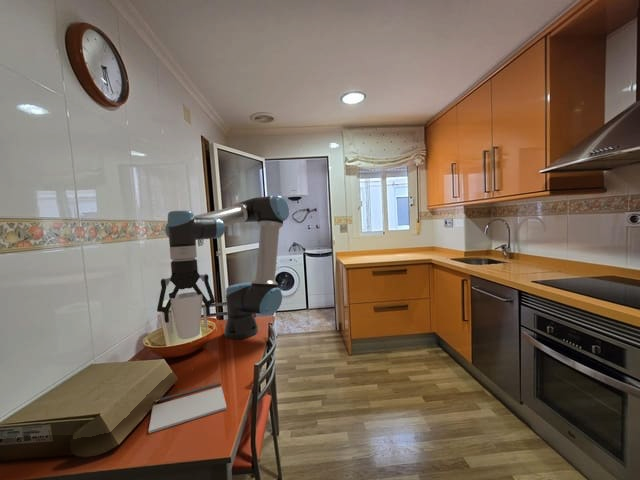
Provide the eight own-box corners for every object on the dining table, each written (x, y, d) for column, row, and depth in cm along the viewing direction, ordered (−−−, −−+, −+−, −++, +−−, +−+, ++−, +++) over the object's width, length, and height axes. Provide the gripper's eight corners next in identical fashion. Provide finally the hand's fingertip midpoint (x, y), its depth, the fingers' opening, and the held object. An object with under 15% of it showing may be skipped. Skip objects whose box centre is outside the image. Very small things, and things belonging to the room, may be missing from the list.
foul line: (220, 382, 88) (220, 381, 88) (220, 384, 87) (220, 383, 87) (154, 400, 80) (154, 399, 80) (154, 403, 79) (153, 402, 79)
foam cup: (183, 330, 94) (180, 292, 94) (209, 329, 94) (207, 291, 93) (166, 341, 85) (163, 299, 84) (196, 340, 84) (193, 298, 84)
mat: (221, 388, 84) (221, 386, 84) (226, 409, 75) (226, 406, 75) (153, 407, 77) (153, 405, 76) (148, 433, 67) (148, 431, 67)
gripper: (141, 264, 80) (147, 340, 81) (221, 257, 90) (226, 325, 91) (144, 261, 87) (150, 332, 88) (219, 255, 96) (223, 318, 97)
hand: (188, 328), depth 89 cm, fingers closed on foam cup, 9 cm apart
